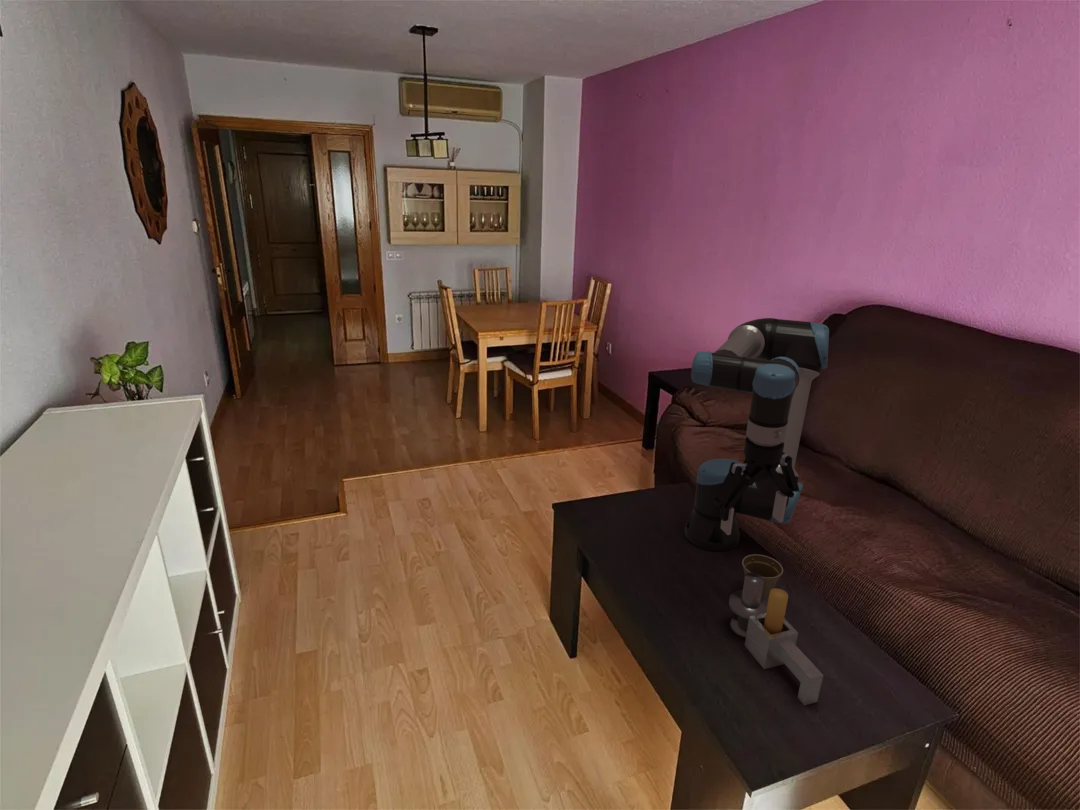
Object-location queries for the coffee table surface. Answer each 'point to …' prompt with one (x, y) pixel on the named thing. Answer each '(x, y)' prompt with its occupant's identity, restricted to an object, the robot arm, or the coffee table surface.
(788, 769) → the coffee table surface
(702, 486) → the robot arm
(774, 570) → the flower pot
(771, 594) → the tapered pin
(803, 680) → the rosette bracket
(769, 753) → the coffee table surface
